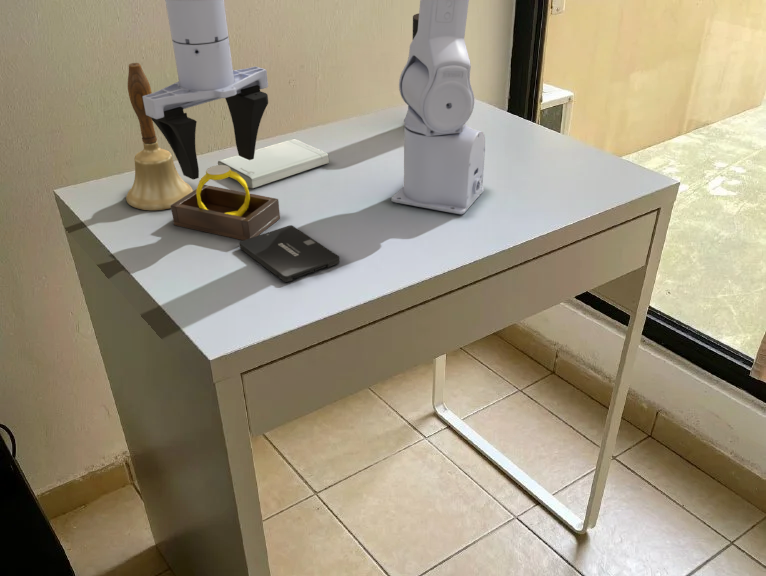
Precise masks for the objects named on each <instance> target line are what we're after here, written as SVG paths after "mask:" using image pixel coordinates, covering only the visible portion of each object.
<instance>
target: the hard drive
mask: <svg viewBox="0 0 766 576" xmlns="http://www.w3.org/2000/svg"><path fill="white" fill-rule="evenodd" d="M329 156H330V155H329V153H327V152H326V151H323V150H322V149H319V148H317V147H315V146H312V145H311V144H307V143H306V142H303V141H301V140H299V139H296V138H292V139H288V140H284V141H282V142H278V143H274V144H271V145H268V146H265V147H261V148H257V149H255V153H254V159H252V160H248V159H245V158H243V157H241V156H239V154H238V155H234V156H230V157H227V158H224V159H219V160H218V161H217V165H226V166H228V167H230V169H231V171H234V172H236V173H237V174H239V175H240V176H241V177H242V178H243V179H244V180H245V181H246V183H247V186H248V189H254V188H258V187H261V186H264V185H267V184H270V183H273V182H275V181H278V180H282V179H286V178H287V177H291V176H294V175H296V174H299V173H303V172H306V171H308V170H311V169H314V168H317V167H321V166H323V165H328V164H329V163H330V159H329ZM234 180H235V181H237V180H236V179H234Z"/></svg>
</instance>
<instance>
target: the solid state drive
mask: <svg viewBox="0 0 766 576" xmlns="http://www.w3.org/2000/svg"><path fill="white" fill-rule="evenodd" d="M238 244H239V248H240V250H242V251H243V252H244V253H246V254H247V255H248V256H250V257H251V258H252V259H253V260H255V261H256V262H257V263H259V264H260V265H261V266H262V267H264V268H265V269H267V270H268V271H270V272H271V274H273V275H275V276H276V277H277V278H279V279H280V280H282V281H283V282H285V283H289V282H292V281H294V279H295V278H298V277H301V276H304V275H307V274H309V273H313V274H314V272H317V271H318V270H320V269H323V268H330V267H333V266H335V265H338V264H339V263H340V261H341V260H340V256H339V255H338V254H336V253H335V252H334V251H332V250H330V249H329V248H327V247H326V246H324V245H323V244H321V243H320V242H318V241H317V240H316V239H314V238H312V237H311V236H309V235H307V234H306V233H304V232H303V231H302V230H300V229H298V228H297V227H296V226H294V225H286V226H284V227H280V228H277V229H274V230H271V231H267V232H265V233H263V234H262V233H261V234H260V235H258V236H256V237H252V238H249V239H246V240H240V241H239V242H238Z"/></svg>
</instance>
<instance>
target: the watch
mask: <svg viewBox="0 0 766 576" xmlns="http://www.w3.org/2000/svg"><path fill="white" fill-rule="evenodd" d="M228 178H231V179H233V180H235V179H236V180H235V181H237V182H238V183H239V184H240V185H241V186H242V187H243V189H244V192H245V193H246V197H245V202H244V204H243V205H242V206H241V207H240V209H239V210H238V211H233V212H227V213H225V214H230V215H235V216H240V217H241V216H242V215H243V214H244V213H245V212H246V210H247V208H248V206H249V201H250V194H251V193H250V190H249V187H248V186H247V183H246V181H245V180H244V179H243V178H242V177H241V176H240V175H239V174H237V173H236V172H234V171H231V169H230V167H228V166H226V165H218V164H217V165H213V166H209V167H208V168H207V169H206V170H205V174H204V175H203V176H202V177H201V178H200V179H199V182H198V183H197V187H196V189H195V190H196V195H197V201H198V206H199V208H201V209H206V210H208V209H207V208H206V207H205V205H204V204H203V203H202V201H201V197H200V193H201V190H202V187H203V185H206V183H208V182H210V181H211V180H212V181H221V180H225V179H228ZM249 193H250V194H249Z"/></svg>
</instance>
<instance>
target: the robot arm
mask: <svg viewBox="0 0 766 576" xmlns="http://www.w3.org/2000/svg"><path fill="white" fill-rule="evenodd" d="M164 1H165V2H164V3H165V7H166V12H167V19H168V25H169V31H170V36H171V42H172V48H173V54H174V61H175V66H176V72H177V78H178V81H176V82H174V83H172V84H170V85H168V86H166V87H165V86H164V88H161V89H159V90H156V91H154V92H152V93H151V94H148V95H145V96H143V102H144V107H145V112H146V115H147V116H149V117H151V119H152V121H153V124H154V125H155V126H157V128H158V130H159V131H160V132H161V134H162V135H163V137H164V139H166V141H167V143H168V144H169V147H170V148H171V150H172V152H173V154H174V155H175V158H176V160H177V162H178V164H179V167H180V170H181V173H182V175H183V176H184V177H187V178H188V179H190V180H197V179H199V178H200V169H199V162H198V157H197V150H196V131H197V129H196V128H197V122H198V121H197V120H195V119H193V118H192V117H188V113H187V112H184V110H185V109H189V108H192V107H196V106H200V105H203V104H207V103H209V102H213V101H217V100H220V99H221V100H222V99H225V102H226V104H227V107H228V110H229V114H230V117H231V121H232V126H233V132H234V138H235V139H234V140H235V146H236V150H237V154H238V155H239V156H241V157H243V158H245V159H248V160H252V159H254V153H255V150H256V145H257V138H258V134H259V128H260V124H261V121H262V119H263V116H264V113H265V111H266V108H267V106H268V105H269V97H268V93H266V92H265V91H264V92H263V91H261V90H264V89H267V88H269V81H268V72H267V69H265V68H262V67H259V66H250V67H246V68H240V69H233V68H234V67H233V60H232V59H233V58H232V51H231V44H230V43H231V42H230V37H229V28H228V20H227V13H226V12H227V11H226V4H225V0H164ZM469 1H470V0H419V11H418V13H419V21H418V31H417V34H416V36H415V37H414V39H413V38H412V41H411V42H410V44H409V49H408V50H409V51H408V58H407V61H406V63H405V66H403V69H402V71H401V73H400V75H399V80H398V90H399V94H400V96H401V99H402V101H403V102H404V103H405V104H406V105H407V112H406V115H405V116H404V119H403V127H404V128H403V186H402V187H401V188H400V189H399V190H398V191H397V192H396V193H395V194H394V195H392V196H391V199H390V200H391V202H392V203H398V204H401V205H407V206H413V207H419V208H424V209H428V210H434V211H440V212H445V213H450V214H456V215H464V214H465V213H466V212H467V210H468V209H469V208H470V207H471V206H472V205H473V204H474V203H475V202H476V201H477V199H479V197H480V196H481V195H482V193H483V192H484V191H485V187H484V186H483V184H484V170H485V156H486V137H485V133H484V132H483V131H481V130H479V129H475V128H472V127H470V126H469V125H467V124H466V123H467V122H468V121H469V119H470V117H471V116H472V114H473V111H474V109H475V94H474V90H473V87H472V84H471V69H472V64H471V60H470V56H469V51H468V48H467V45H466V39H465V36H466V27H467V19H468V12H469V11H468V10H469V4H470V3H469Z"/></svg>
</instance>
